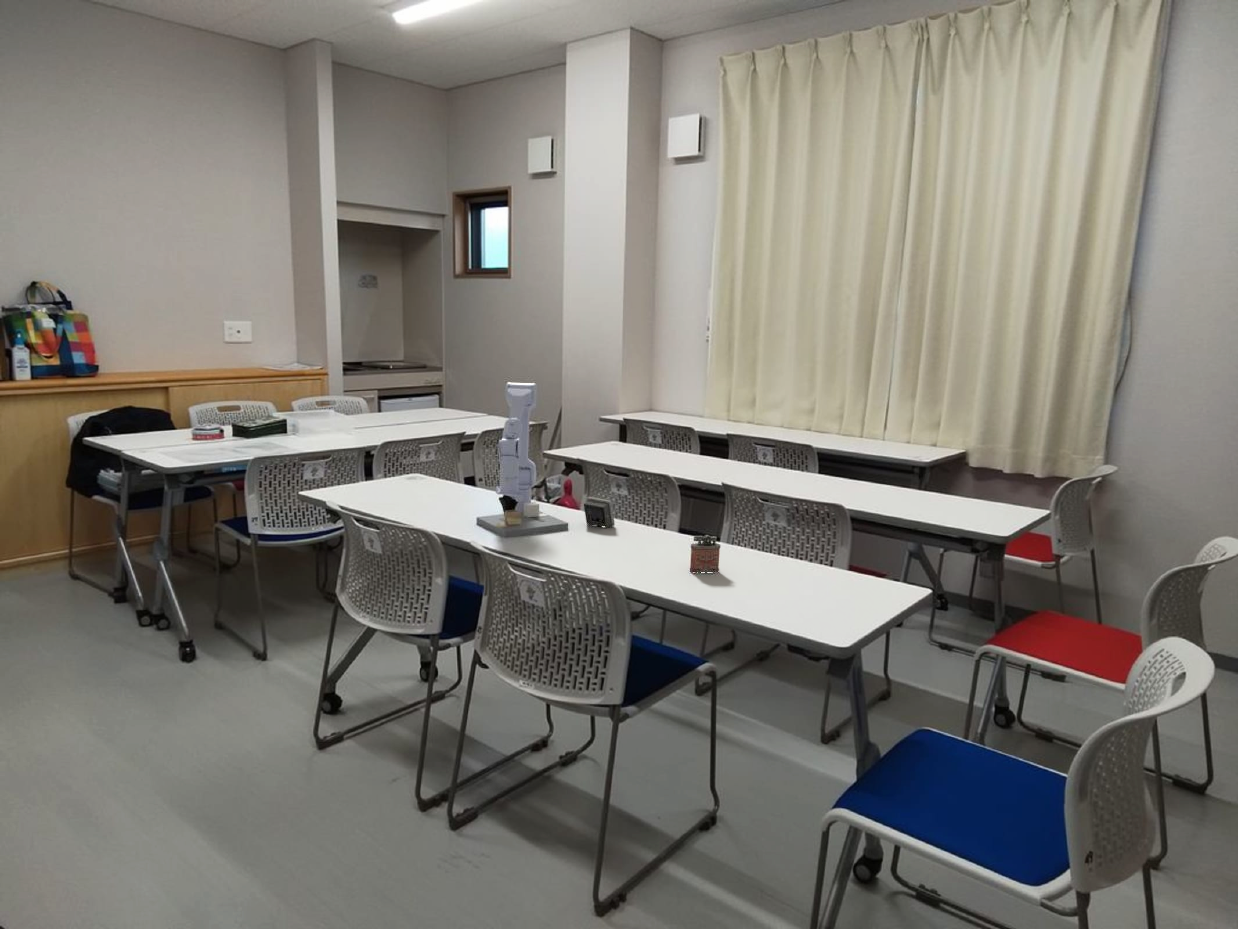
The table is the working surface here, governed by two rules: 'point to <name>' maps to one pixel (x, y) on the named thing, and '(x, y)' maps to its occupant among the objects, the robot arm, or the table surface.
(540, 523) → the grey base plate
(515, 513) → the wooden block
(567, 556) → the table surface
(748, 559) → the table surface
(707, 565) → the lighter
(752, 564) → the table surface
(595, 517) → the electrical switch
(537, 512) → the switch white
